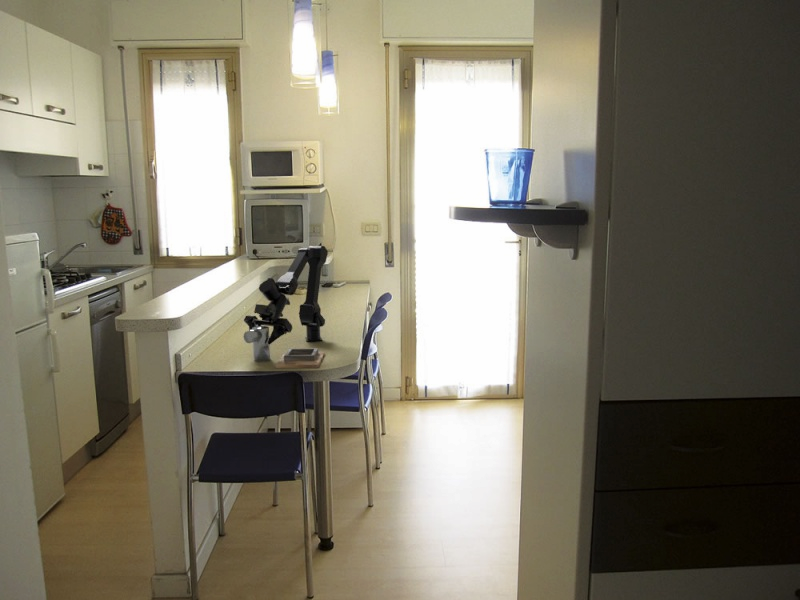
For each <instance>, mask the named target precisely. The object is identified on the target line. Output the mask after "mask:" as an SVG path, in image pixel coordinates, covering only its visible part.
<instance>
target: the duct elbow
mask: <svg viewBox="0 0 800 600" xmlns="http://www.w3.org/2000/svg"><path fill="white" fill-rule="evenodd" d="M269 338H270V326H265V325H261V326H257V327H253V328H252V330H250V331H249V330H247V331H245V332H244V334H243V339H244V341H245V342H246V343H247V344H252V349H253V350H252V351H253V352H252V353H253V361H254V362H257V363H263V362H269V361H270V360H271V344H270V345H269V344H268V340H269Z"/></svg>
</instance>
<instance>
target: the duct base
mask: <svg viewBox="0 0 800 600" xmlns="http://www.w3.org/2000/svg"><path fill="white" fill-rule="evenodd" d="M323 356H324V357H325V351H319V347H312V348H311V347H308V348H307V347H304V348H302V347H300V348H296V347H295V348H288V349H287V351H286V352H284V353H283V354H282V356H281V357H280V358H279V360H278V361H277V362H276V364H275V369H306V368H307V369H308V368H309V369H311V368H313V369H314V368H318V369H319V367H320V365H321V364H322V360H323V359H324V357H323Z"/></svg>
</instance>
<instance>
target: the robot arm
mask: <svg viewBox="0 0 800 600" xmlns="http://www.w3.org/2000/svg"><path fill="white" fill-rule="evenodd" d="M328 254H329V252H328V249H327V248H326V246H325V245H309V246H308V247H301V248H298V251H297V254H296V256H295V258H294V259H293V261H292V262H291V264H290V266H289V268H288V270H287V271H286V273H284V274H283V275H281V276H280V277H279V278H278V280H277V281H275V279H274V278H272V277H268V278H267V279H266V280H264V281H262V283H260V284H259V287H258V289H259V291H260V293H261V294H262V296H263V297H264V298H265V299H266V300H268V301H270V302H269V303H268V304H255V307H254V311H253V313H254V314H256V315H252V314H247V315H245V316H244V319H243V322H244V323H245V324H246V325H247V326H248V331H250V330H252V328H253V327H257V326H267V327H272V331H271V334H269V340H268V344H269V345H270V346H271V345H272V343H274V342H275V341H277V339H279V338H280V337H282V336H284V335H286V334H287V333H291V332H292V330H293V325H292V323H291V322H290V321H289V319H287V318H286V317H285V318H284V313H283V311H284V309H285V307H286V306H290V305H291V301H290V298H289V297H287V296H293V295H295V294H296V292H297V289H298V286H299V283H298V280H299V277H300V276H301V274H302V273H303V270H304V269H305V267H306V265H308V267H309V268H308V275H307V276H308V277H307V284H306V286H307V287H306V293H305V294H306V295H305V301H304V302H303V303H301V304H300V305H299V312H298V316H299V322H300V325H301V326H302V327H306V328H305V329H306V330H305V331H306V337H304V339H305V342H306V343H307V342H308V343H309V342H311V343H312V342H323V338H322V337H321V336H322V335H321V327H324V326H325V325H326V319H325V318H324V316H323V315H322V314H321V313H322V310H321V307H320V304H319V294H320V293H319V292H320V284H321V274H322V268H323V266H324V265H325V263H327V259H328V258H327V257H328ZM257 314H258V317H259V318H261V319H258V317H257Z"/></svg>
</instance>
